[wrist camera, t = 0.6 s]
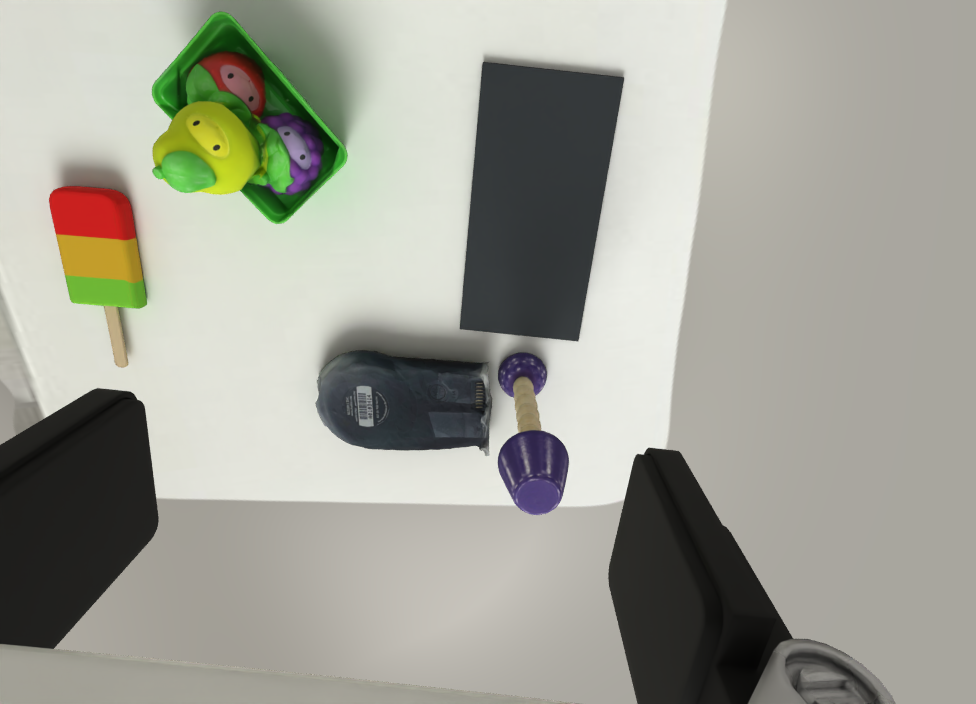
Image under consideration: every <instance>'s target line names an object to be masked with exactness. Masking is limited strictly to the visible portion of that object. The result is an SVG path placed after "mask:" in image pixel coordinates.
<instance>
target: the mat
mask: <svg viewBox="0 0 976 704" xmlns="http://www.w3.org/2000/svg"><path fill="white" fill-rule="evenodd" d="M623 82H624V77H615V76H606V75H597V74H588V73H579V72H570V71H560V70H551V69H542V68H533V67H524V66H515V65H506V64H497V63H488V62H483V65H482V77H481V89H480V100H479V112H478V123H477V135H476V147H475V158H474V170H473V181H472V193H471V205H470V216H469V228H468V239H467V251H466V263H465V274H464V286H463V297H462V309H461V321H460V329H465V330H474V331H484V332H494V333H503V334H513V335H522V336H532V337H542V338H551V339H561V340H571V341H578V340H579V334H580V328H581V322H582V317H583V311H584V305H585V299H586V294H587V288H588V282H589V277H590V271H591V265H592V259H593V254H594V248H595V242H596V236H597V231H598V225H599V219H600V214H601V208H602V202H603V196H604V191H605V185H606V179H607V174H608V168H609V162H610V156H611V151H612V145H613V139H614V133H615V128H616V122H617V116H618V111H619V105H620V99H621V93H622V88H623Z"/></svg>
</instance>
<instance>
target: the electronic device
mask: <svg viewBox="0 0 976 704" xmlns="http://www.w3.org/2000/svg"><path fill="white" fill-rule="evenodd" d="M487 371H488V362H482V363H473V362H461V361H447V360H435V359H419V358H405V357H392V356H388V355H385V354H382V353H379V352H376V351H353V352H352V351H351V352H348V353H345V354H342V355H340V356H337V357H336V358H334V359H333V360H332V361H331V362H329V363H328V364H327V365H326V366H325V367H324V368H323V370H322V372H321V373H320V374H319V377H318V380H317V384H318V391H319V396H318V400H317V402H316V407H317V411H318V413H319V416H320V418H321V420H322V422H323V424H324V426H327V427H328V428H329V429H330V431H331V432H332V433H333V434H335V435H336V436H337V437H338V438H340V439H341V440H343V441H345V442H346V443H349V444H351V445H355V446H360V447H364V448H367V449H383V450H430V449H432V450H440V449H451V448H460V447H469V446H478V447H479V449H480V451H482V450H483V451H484V452H485V456H489V421H490V414H491V408H492V397H491V395H490V388H489V378H488V375H487Z"/></svg>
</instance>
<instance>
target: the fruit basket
mask: <svg viewBox="0 0 976 704" xmlns="http://www.w3.org/2000/svg"><path fill="white" fill-rule="evenodd" d="M152 96H153V98H154V101H155V103H156V104H157V105H158V106H159V107H160V108H161V109H162V110H163V111H164V112H165V113H166V114H167V115H168V116H169V117H170V118H171V119H172V122H171V124H170V126H169V128H168V130H167V131H166V132H165V133H164V134H162V135H161V136H160V137H159V138H158V139H157V141H156V142H155V143H154V146H153V160H154V163H155V166H156V167H155V168H154V169H153V174H154V176H155V177H156V178H158V179H164V180H165V182H167V183H168V184H169V185H170V186H171V187H172V188H174V189H175V190H177V191H180V192H184V193H192V192H206V193H210V194H220V195H221V194H229V193H233V192H237V191H239V190H240V191H241V192H242V193H243V194H244V195H245V196H246V197H247V198H248V199H249V200H250V201H251V202H252V204H253V205H254V206H255V207H256V208H257V209H258V210H259V211H260V212H261V213H262V214H263V215H264V216H265V217H266V218H267V219H268V220H269V221H271V222H273V223H275V224H281V223H284V222H286V221H287V220H288V219H289V218H290V217H291V216H292V215H293V214H294V213H295V212H296V211H297V210H298V209H299V208H300V207H301V206H302V205H303V204H304V203H305V202H306V201H307V200H308V199H309V198H310V197H311V196H312V195H313V194H315V193H316V192H317V191H318V190H319V189H320V188H321V187H322V186H323V185H324V184H325V183H326V182H327V181H328V180H329V179H330V178H331V177H332V176H333V175H334V174H335V173H336V172H337V171H339V170H340V169H341V168H342V167H343V166H344V164H345V163H346V161H347V151H346V148H345V146H344V145H343V144H342V143H341V141H340V140H339V139H338V138H337V137H336V136H335V135H334V133H333V132H332V131H331V130H330V129H329V128H328V127H327V126H326V124H325V123H324V122H323V121H322V120H321V119H320V117H319V116H318V115H317V114H316V113H315V112H314V111H313V109H312V108H311V107H310V106H309V104H308V103H307V102H306V100H305V99H304V98H303V97H302V96H301V95H300V93H299V92H298V91H297V90H296V89H295V88H294V86H293V85H292V84H291V83H290V82H289V81H288V79H287V78H286V77H285V76H284V75H283V74H282V73H281V71H280V70H279V69H278V68H277V67H276V66H275V65H274V64H273V63H272V62H271V61H270V59H269V58H268V57H267V56H266V55H265V54H264V52H263V51H262V50H261V49H260V48H259V47H258V46H257V44H256V43H255V42H254V41H253V40H252V39H251V37H250V36H249V35H248V34H247V33H246V32H245V30H244V29H243V28H242V27H241V26H240V25H239V23H238V22H237V21H236V20H235V19H234V18H233V17H232V16H231V15H230V14H228V13H226V12H217V13H214V14H213V15H212V16H211V17H210V18H209V19H208V20H207V22H206V23H205V24H204V25H203V27H202V28H201V29H200V30H199V31H198V33H197V34H196V35H195V36H194V37H193V39H192V40H191V41H190V42H189V43H188V45H187V46H186V47H185V48H184V49H183V51H182V52H181V53H180V54H179V55H178V57H177V58H176V59H175V60H174V61H173V62H172V63H171V64H170V65H169V67H168V68H167V69H166V70H165V71H164V72H163V73H162V75H161V76H160V77H159V78H158V79H157V80H156V81H155V83H154V84H153V87H152Z"/></svg>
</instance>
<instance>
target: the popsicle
mask: <svg viewBox="0 0 976 704" xmlns="http://www.w3.org/2000/svg"><path fill="white" fill-rule="evenodd" d="M49 203H50V210H51V214H52V219H53V223H54V228H55V232H56V237H57V241H58V246H59V250H60V255H61V259H62V264H63V269H64V273H65V278H66V282H67V287H68V291H69V296H70V300H71V302H73V303H77V304H89V305H101V306H104V309H105V314H106V319H107V324H108V329H109V334H110V339H111V344H112V349H113V354H114V360H115V364H116V365H117V366H118V367H126V366H127V365H128V359H127V353H126V348H125V343H124V337H123V332H122V326H121V321H120V316H119V310H118V307H126V308H138V309H139V308H142V307H144V306H145V305H147V300H146V294H145V288H144V281H143V275H142V269H141V263H140V257H139V251H138V245H137V239H136V233H135V227H134V221H133V215H132V209H131V206H130V202H129V201H128V199H127V197H126V196H125V195H124V194H123V193H120V192H118V191H116V190H112V189H105V188H93V187H81V186H67V187H61V188H58V189H55V190H54V191H53V192H52V193H51V194H50V198H49Z"/></svg>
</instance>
